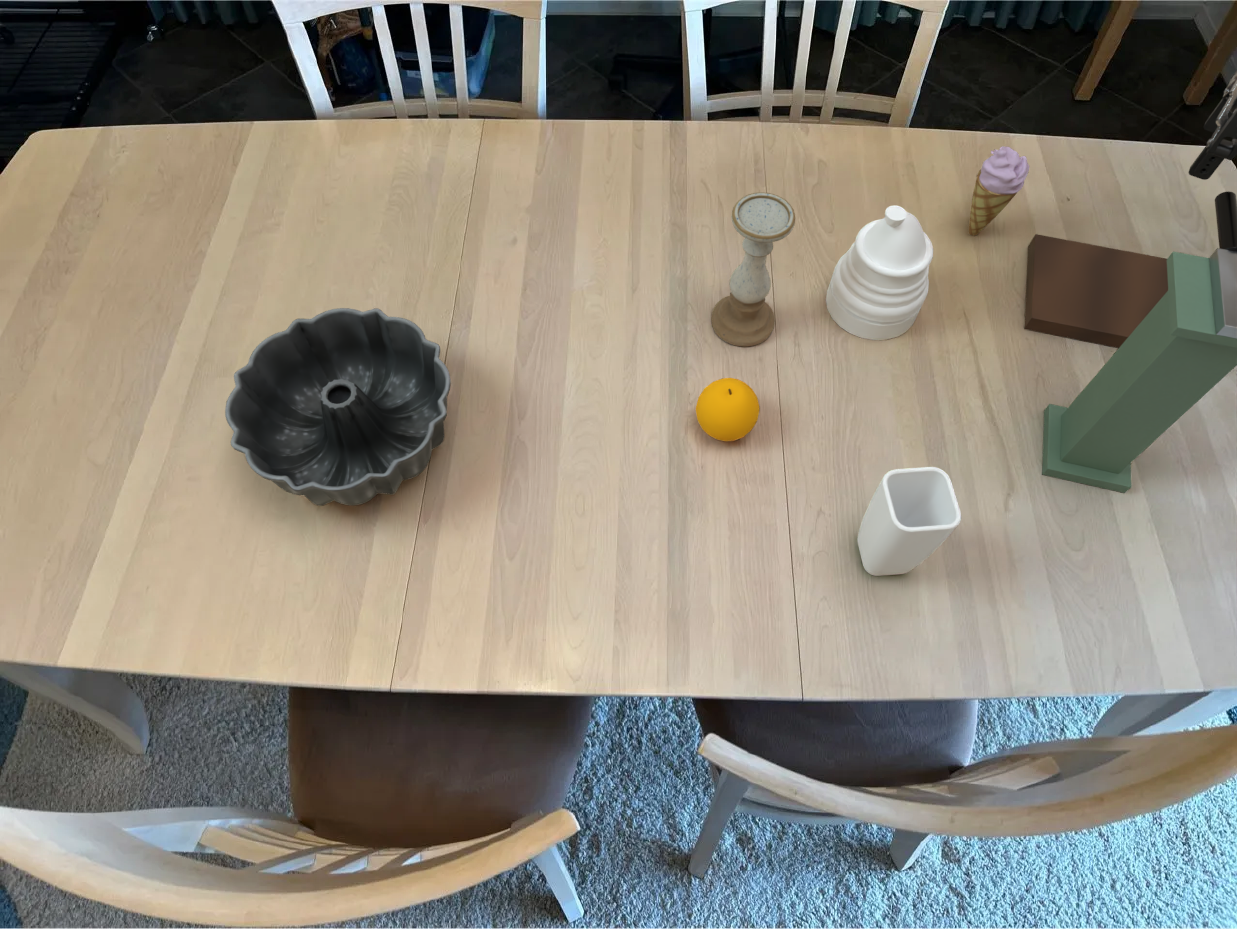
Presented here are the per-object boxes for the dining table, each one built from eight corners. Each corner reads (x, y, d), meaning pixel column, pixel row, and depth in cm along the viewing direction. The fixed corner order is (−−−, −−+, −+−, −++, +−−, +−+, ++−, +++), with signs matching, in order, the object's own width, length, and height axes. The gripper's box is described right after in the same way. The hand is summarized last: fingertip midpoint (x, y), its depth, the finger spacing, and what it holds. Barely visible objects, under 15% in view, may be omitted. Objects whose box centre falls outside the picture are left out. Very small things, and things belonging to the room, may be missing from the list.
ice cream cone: (948, 214, 127) (986, 131, 114) (990, 214, 127) (1032, 132, 114) (956, 247, 124) (995, 166, 111) (998, 247, 124) (1043, 167, 111)
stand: (1123, 427, 109) (1279, 270, 83) (1124, 493, 104) (1290, 349, 78) (1043, 410, 110) (1172, 250, 84) (1041, 474, 105) (1177, 327, 80)
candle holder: (720, 352, 115) (738, 246, 97) (704, 303, 119) (718, 193, 101) (781, 341, 116) (811, 234, 98) (763, 293, 120) (788, 182, 102)
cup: (920, 580, 99) (966, 527, 86) (859, 584, 98) (895, 532, 85) (905, 524, 102) (946, 464, 89) (846, 528, 102) (879, 469, 89)
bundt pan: (455, 340, 116) (441, 292, 107) (472, 509, 103) (458, 470, 95) (260, 367, 114) (230, 321, 105) (253, 543, 101) (218, 507, 93)
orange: (717, 460, 107) (723, 429, 100) (682, 415, 110) (686, 383, 103) (767, 431, 109) (777, 399, 102) (731, 388, 112) (738, 355, 105)
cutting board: (1170, 272, 122) (1180, 260, 119) (1175, 359, 114) (1186, 348, 112) (1028, 245, 124) (1035, 233, 122) (1024, 329, 117) (1031, 317, 114)
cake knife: (1236, 207, 87) (1247, 194, 86) (1251, 341, 79) (1264, 329, 77) (1203, 201, 88) (1214, 188, 86) (1215, 334, 79) (1227, 322, 78)
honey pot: (856, 352, 115) (894, 260, 99) (808, 286, 120) (837, 189, 105) (935, 321, 117) (984, 227, 102) (885, 258, 123) (923, 159, 107)
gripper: (1339, 69, 77) (1227, 203, 91) (1359, -12, 83) (1251, 126, 97) (1253, 44, 79) (1156, 179, 93) (1278, -34, 85) (1184, 104, 99)
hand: (1205, 152), depth 95 cm, fingers open, 8 cm apart
